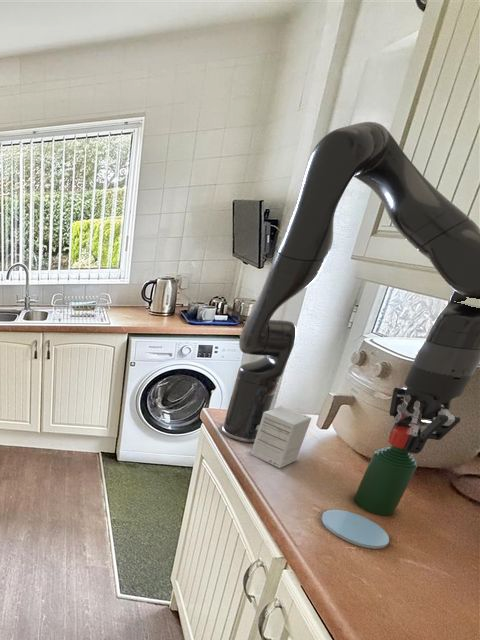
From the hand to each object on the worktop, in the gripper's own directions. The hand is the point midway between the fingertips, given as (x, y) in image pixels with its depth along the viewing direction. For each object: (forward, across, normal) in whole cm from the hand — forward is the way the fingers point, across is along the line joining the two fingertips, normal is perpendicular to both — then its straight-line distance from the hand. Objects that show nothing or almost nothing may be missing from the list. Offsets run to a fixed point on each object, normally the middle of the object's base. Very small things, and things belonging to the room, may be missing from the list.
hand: (403, 445), depth 81 cm
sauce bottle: (+15, 0, 0) cm, 15 cm away
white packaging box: (+16, -15, -14) cm, 26 cm away
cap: (0, 0, 0) cm, 0 cm away
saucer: (+15, +9, -8) cm, 20 cm away
